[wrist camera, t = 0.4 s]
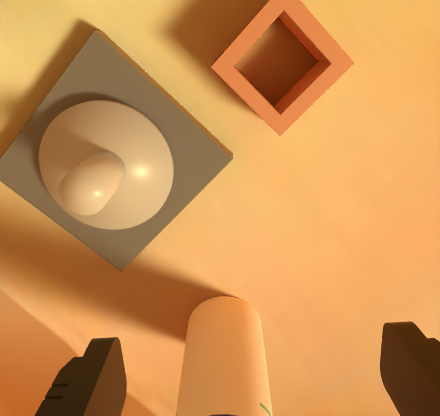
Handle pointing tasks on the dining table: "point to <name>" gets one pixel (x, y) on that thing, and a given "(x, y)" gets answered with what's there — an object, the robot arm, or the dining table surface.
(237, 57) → the collar
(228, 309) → the cylindrical container
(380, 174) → the dining table surface
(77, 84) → the post plate
